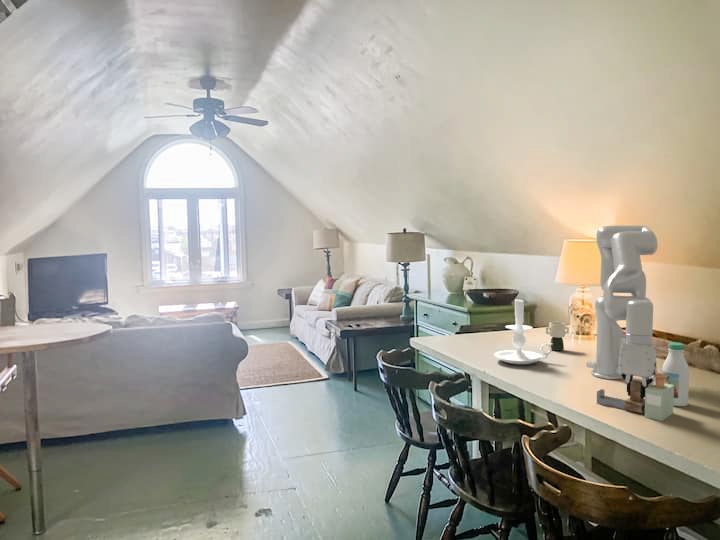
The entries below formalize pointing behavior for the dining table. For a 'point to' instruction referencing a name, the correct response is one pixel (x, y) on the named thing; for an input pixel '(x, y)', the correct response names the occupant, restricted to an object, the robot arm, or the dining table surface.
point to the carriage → (635, 397)
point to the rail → (612, 401)
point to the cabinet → (659, 401)
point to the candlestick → (520, 341)
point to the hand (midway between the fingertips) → (636, 395)
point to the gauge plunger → (660, 380)
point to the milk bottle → (677, 373)
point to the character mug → (557, 334)
